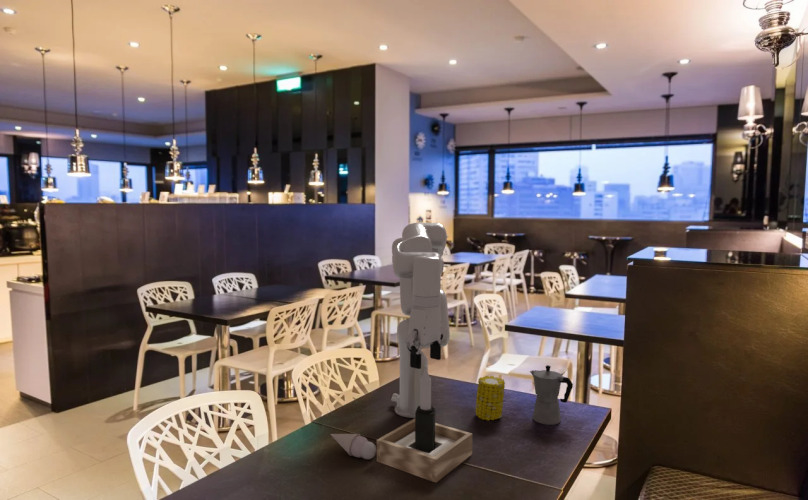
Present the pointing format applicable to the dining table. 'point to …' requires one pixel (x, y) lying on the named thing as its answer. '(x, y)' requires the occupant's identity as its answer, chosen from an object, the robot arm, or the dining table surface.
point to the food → (489, 398)
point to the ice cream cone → (356, 445)
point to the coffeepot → (549, 395)
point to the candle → (425, 417)
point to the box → (430, 466)
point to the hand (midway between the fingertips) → (425, 363)
